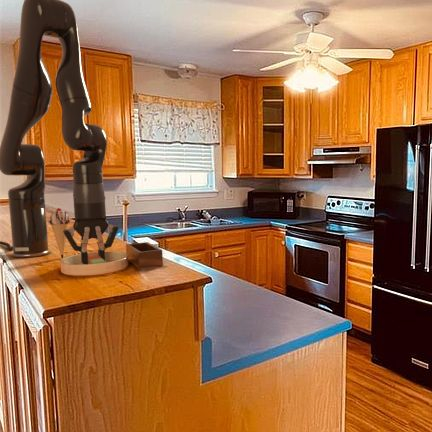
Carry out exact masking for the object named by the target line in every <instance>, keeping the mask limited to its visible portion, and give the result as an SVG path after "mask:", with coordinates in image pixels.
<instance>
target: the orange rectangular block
mask: <svg viewBox="0 0 432 432" xmlns="http://www.w3.org/2000/svg"><path fill="white" fill-rule="evenodd" d="M99 258H101V257H100V256H99V255H98V254H94V255H88V264H90V260H91V259H99Z"/></svg>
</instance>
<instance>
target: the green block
mask: <svg viewBox="0 0 432 432" xmlns="http://www.w3.org/2000/svg"><path fill="white" fill-rule="evenodd" d="M99 263H105V261H104V260H103V259H102V258H99V259H91V260H90V264H99Z"/></svg>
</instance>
